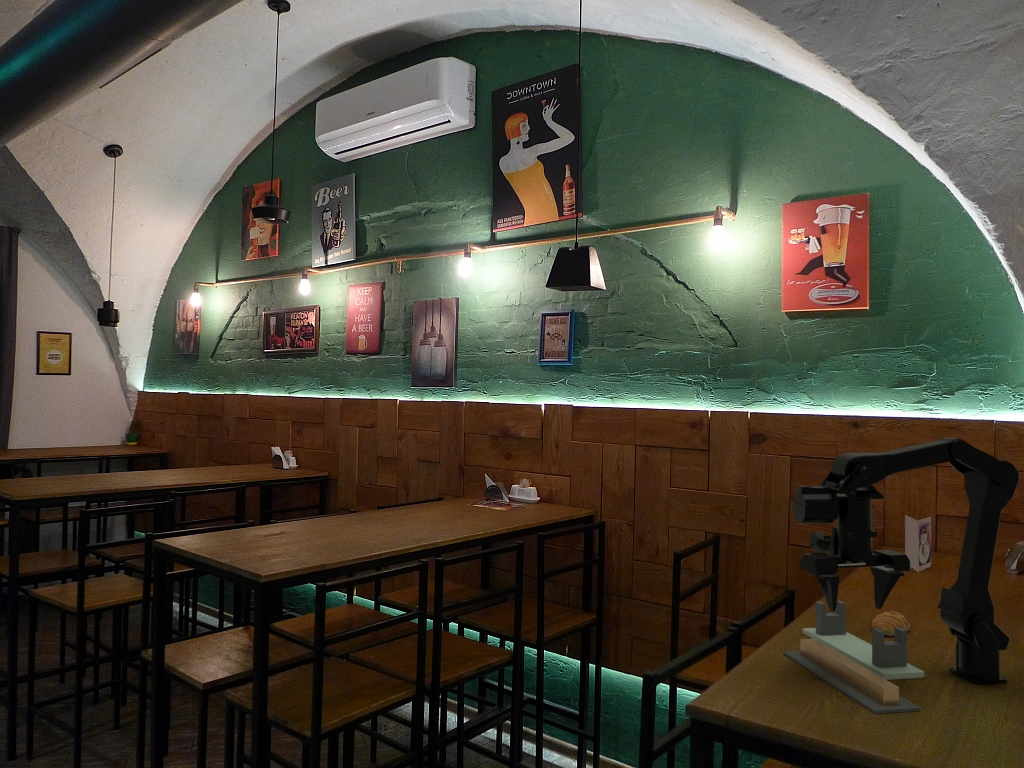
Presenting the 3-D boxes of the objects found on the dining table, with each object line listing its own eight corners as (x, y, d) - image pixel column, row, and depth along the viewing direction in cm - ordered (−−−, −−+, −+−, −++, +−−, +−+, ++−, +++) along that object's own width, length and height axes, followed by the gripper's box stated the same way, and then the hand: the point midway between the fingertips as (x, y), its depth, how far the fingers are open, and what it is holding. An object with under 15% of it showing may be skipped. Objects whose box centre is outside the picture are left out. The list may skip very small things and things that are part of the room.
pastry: (898, 641, 150) (897, 622, 150) (863, 634, 155) (863, 616, 155) (911, 631, 157) (911, 613, 157) (878, 624, 162) (878, 607, 162)
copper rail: (898, 704, 117) (898, 687, 117) (883, 705, 116) (883, 688, 116) (813, 653, 141) (813, 638, 141) (800, 653, 140) (800, 639, 140)
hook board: (924, 677, 130) (924, 635, 130) (884, 679, 129) (884, 637, 129) (836, 631, 155) (836, 596, 156) (802, 633, 154) (802, 597, 154)
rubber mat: (920, 710, 116) (920, 707, 116) (875, 713, 114) (875, 710, 114) (821, 652, 142) (821, 649, 142) (783, 654, 141) (783, 651, 141)
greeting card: (920, 572, 211) (920, 521, 212) (893, 568, 217) (893, 517, 217) (934, 566, 219) (934, 517, 219) (907, 562, 224) (907, 514, 225)
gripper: (870, 514, 140) (871, 595, 140) (782, 517, 137) (783, 600, 137) (912, 524, 129) (913, 612, 129) (817, 528, 126) (818, 617, 126)
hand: (855, 609), depth 130 cm, fingers open, 9 cm apart
